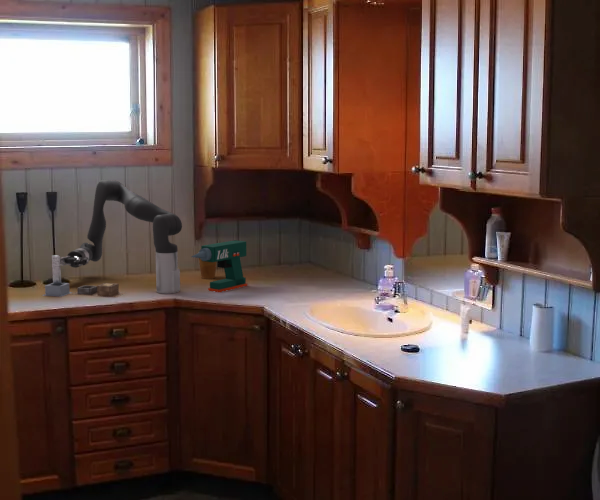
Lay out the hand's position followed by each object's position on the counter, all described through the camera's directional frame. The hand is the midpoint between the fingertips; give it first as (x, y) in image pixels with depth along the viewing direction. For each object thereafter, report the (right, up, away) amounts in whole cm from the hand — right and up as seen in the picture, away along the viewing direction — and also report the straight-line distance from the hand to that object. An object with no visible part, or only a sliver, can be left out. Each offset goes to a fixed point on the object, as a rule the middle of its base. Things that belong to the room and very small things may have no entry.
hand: (64, 263), depth 346 cm
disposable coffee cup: (+57, -7, +35) cm, 67 cm away
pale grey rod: (-1, -12, -8) cm, 14 cm away
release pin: (+20, -11, -8) cm, 25 cm away
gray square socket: (-1, -13, -8) cm, 15 cm away
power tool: (+65, -12, +5) cm, 66 cm away
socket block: (+16, -13, -7) cm, 22 cm away
